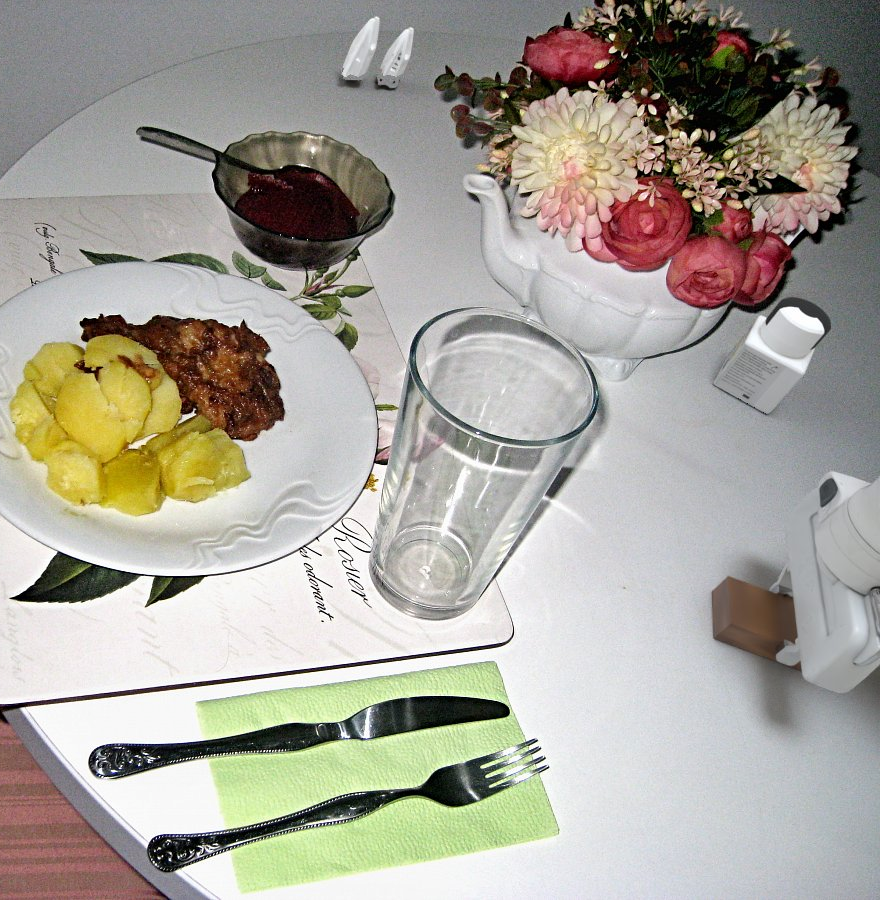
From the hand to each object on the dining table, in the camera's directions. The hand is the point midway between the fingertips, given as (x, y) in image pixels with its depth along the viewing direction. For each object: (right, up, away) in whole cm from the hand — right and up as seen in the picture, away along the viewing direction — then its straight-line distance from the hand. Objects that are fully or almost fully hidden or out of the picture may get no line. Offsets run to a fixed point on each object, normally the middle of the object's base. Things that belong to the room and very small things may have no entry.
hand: (779, 626), depth 90 cm
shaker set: (-35, +80, +63) cm, 108 cm away
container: (+11, +26, +28) cm, 40 cm away
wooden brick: (0, -1, +1) cm, 2 cm away
